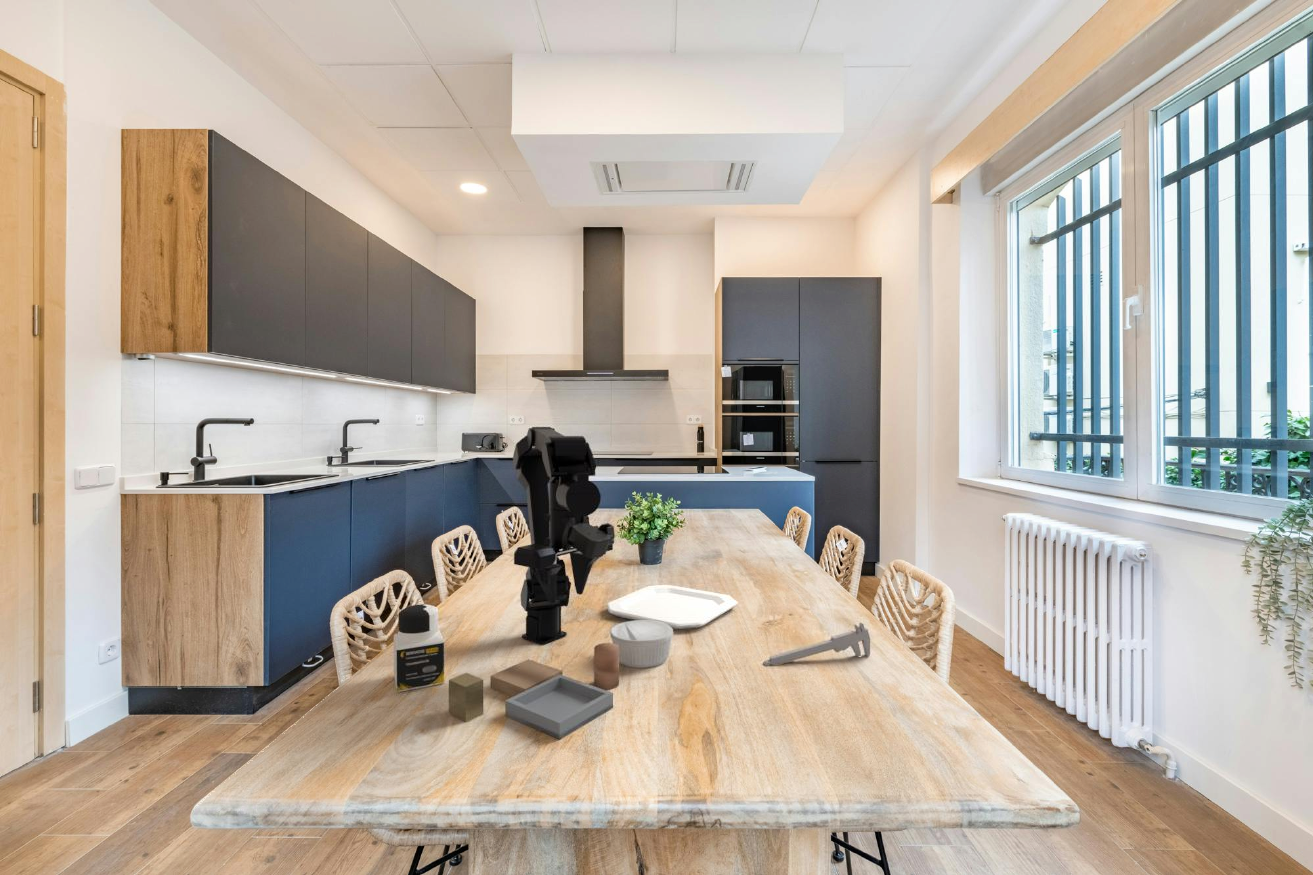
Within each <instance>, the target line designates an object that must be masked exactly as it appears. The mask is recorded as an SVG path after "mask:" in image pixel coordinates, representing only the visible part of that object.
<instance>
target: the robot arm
mask: <svg viewBox="0 0 1313 875" xmlns="http://www.w3.org/2000/svg"><path fill="white" fill-rule="evenodd" d="M527 430H528V431H527V432H526V435H525V436H524V437H523V438H521V439H520V440H519V441H518V442H517V443H515V447H514V452H513V456H512V464H513V467H512V468H513V469H514V470H516V478H517V480H518V482H519V483H520V484H521V486H522V487H523V488H524V490H525V491H526V501H527V502H526V503H527V513H528V523H529V535H530V536H529V537H530V544H528V545H522V546H518V547H517V548H516V550H515V551H514V553H513V565H517V566H522V567H525V568H527V570H526V572H525V578H524V580H523V584H522V587H521V591H520V605H521V608H522V609H523V610H524V612H526V616H525V633H522V634H521V638H522V639H526V640H529V641H533V642H535V643H538V644H541V645H546V644H548V643H550V642H554V641H555V640H558V639H560V638H563V637H565V636H566V637H567V635H568V633H567V631H564V630H562V607H568V606H569V603H570V593H571V587H572V582H571V581H570V578H569V575H568V574H567V570H566V563H565V561H564V559H560V558H559V557H561V556H565V555H566V556H567V555H569V558H570V562H571V570H572V575H573V583H574V588H575V592H576V594H577V595H583V593H584V590H585V587H586V585H587V581H588V579H589V576H590V573H591V571H592V567H593V565H594V564H595V563H596V561H598V560H599V559H601V558H602V557H603V556H604V555H606V554H607V552H610V551H613V550H614V544H615V537H616V536H615V527H614V525H612V524H611V523H609V522H607V523H601V525H595V526H594V525H592V524H590V516H591V514H594V513H595V512H596V511H597V510H598V508H599V507H600V504H601V497H602V494H601V492H600V490H599V487H598V486H597V485H596V484H595V483H594V482H592V481H591V480H590V478H589V477H596V469H597V464H596V461H595V460H596V459H595V457H594V455H593V452H592V449H591V447H590V444H589V442H587V440H586V438H585V437H584V436H583V435H564V434H561V433H560V432H558V431H557V430H556V429H555V428H554V427H553V428H552V426H531V427H529V428H528V429H527Z"/></svg>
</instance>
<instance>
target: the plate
mask: <svg viewBox="0 0 1313 875" xmlns="http://www.w3.org/2000/svg"><path fill="white" fill-rule="evenodd" d="M605 606H606V608H607V611H608V613H609V614H612V615H614V616H616V617H620V618H622V619H625V618H626V619H627V620H630V621H635V620H651V621H658V622H663V623H665V624H667V625H669V626H670V627H671V628H672V629H673V630H690V629H698V628H701V627H703V626H705V625H706V624H708V623H709V622H712V621H713V620H715V619H716V618H718V617H720V616H721V615H723V614H724V613H726V612H728V611H729V610H731V609H733V608H734V607H736V606H738V601H737V600H736V599H734V598H733V597H732V596H731V595H729V594H724V593H717V592H713V591H707V590H699V589H695V588H688V587H683V586H677V585H671V584H659V585H649V586H646V587H643V588H641V589H638V590H635V591H633V592H631V593H628V594H627V595H624V596H622V597H618V598H616V599H614V600H611V601H609V602H608V603H606V605H605ZM626 619H625V620H626Z"/></svg>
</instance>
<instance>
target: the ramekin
mask: <svg viewBox="0 0 1313 875" xmlns="http://www.w3.org/2000/svg"><path fill="white" fill-rule="evenodd" d="M673 636H674V629H672V628H671V627H670V626H669V625H667V624H665V623H663V622H658V621H651V620H630V621H629V620H628V621H624V622H620V623H618V624H616V625H614V626H613V627H612V628H611V629H610V638H611V641H612V643H613V644H616V645H618V646H619V664H621V665H623V666H625V667H629V668H636V669H646V668H647V669H648V668H653V667H657V666H659V665H662V664H663V663H664V662H665V661H666V660H667V659H668V658H669V655H670V650H671V646H672V639H673Z"/></svg>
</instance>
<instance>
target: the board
mask: <svg viewBox="0 0 1313 875" xmlns="http://www.w3.org/2000/svg"><path fill="white" fill-rule="evenodd" d="M558 675H563V670H562V669H558V668H556V667H552V666H550V665H546V664H543V663H540V662H538V661H535V660H531V659H530V658H529V659H526V660H523V661H520V662H519V663H516V664H514V665H512V666H510V667H507V668H505V669H503V670H500V671H498V672H496V673H494V674H491V675H490V676H489V678H490V681H489V682H490V689H491V690H493V691H496V692H498V693H501V694H503V695H506V696H508V697H510V698H512V697H514V696H516V695H518V694H520V693H522V692H524V691H526V690H529V689H531V688H533V687H535V686H537V685H539V684H541V683H543V682H545V681H548V680H550V679H552V678H554V677H556V676H558Z"/></svg>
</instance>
